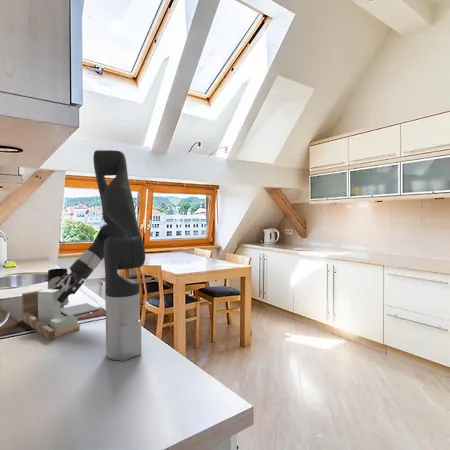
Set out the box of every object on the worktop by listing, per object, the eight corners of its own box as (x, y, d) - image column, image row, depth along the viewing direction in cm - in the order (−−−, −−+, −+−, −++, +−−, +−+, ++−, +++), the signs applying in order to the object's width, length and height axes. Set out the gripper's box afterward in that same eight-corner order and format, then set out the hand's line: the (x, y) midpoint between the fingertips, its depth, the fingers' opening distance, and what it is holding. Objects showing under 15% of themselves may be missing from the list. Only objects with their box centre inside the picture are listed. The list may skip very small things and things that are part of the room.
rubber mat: (99, 310, 130) (99, 308, 130) (69, 317, 121) (69, 315, 121) (86, 304, 138) (86, 303, 138) (57, 310, 129) (57, 309, 129)
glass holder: (46, 307, 133) (45, 272, 133) (47, 299, 146) (47, 267, 145) (69, 304, 137) (69, 270, 137) (68, 297, 150) (68, 265, 149)
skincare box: (61, 321, 116) (60, 289, 116) (53, 325, 112) (53, 292, 111) (45, 321, 117) (45, 289, 116) (37, 325, 112) (37, 291, 112)
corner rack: (82, 331, 106) (81, 302, 106) (49, 340, 98) (48, 309, 98) (51, 313, 125) (51, 288, 125) (21, 319, 118) (21, 293, 117)
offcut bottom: (79, 331, 108) (79, 324, 108) (54, 338, 102) (54, 330, 102) (73, 327, 111) (73, 320, 111) (48, 334, 105) (48, 327, 105)
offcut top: (77, 324, 108) (77, 317, 107) (56, 330, 102) (56, 322, 102) (71, 321, 110) (71, 314, 110) (50, 327, 104) (50, 319, 104)
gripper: (71, 256, 126) (40, 290, 118) (86, 260, 116) (53, 297, 108) (84, 268, 130) (55, 301, 122) (100, 272, 120) (70, 309, 113)
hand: (54, 299), depth 115 cm, fingers open, 8 cm apart
